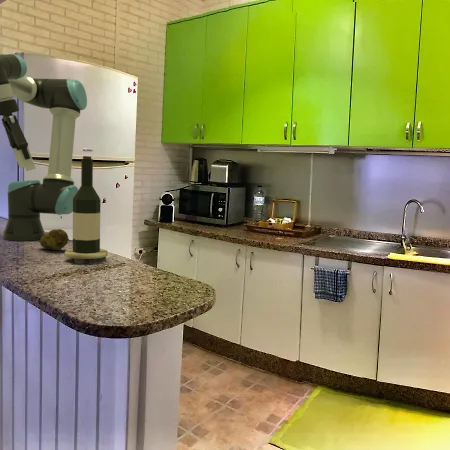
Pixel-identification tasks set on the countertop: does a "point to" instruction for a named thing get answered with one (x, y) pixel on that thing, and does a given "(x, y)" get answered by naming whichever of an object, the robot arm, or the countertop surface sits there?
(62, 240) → the potato
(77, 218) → the wine bottle
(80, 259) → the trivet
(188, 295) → the countertop surface
